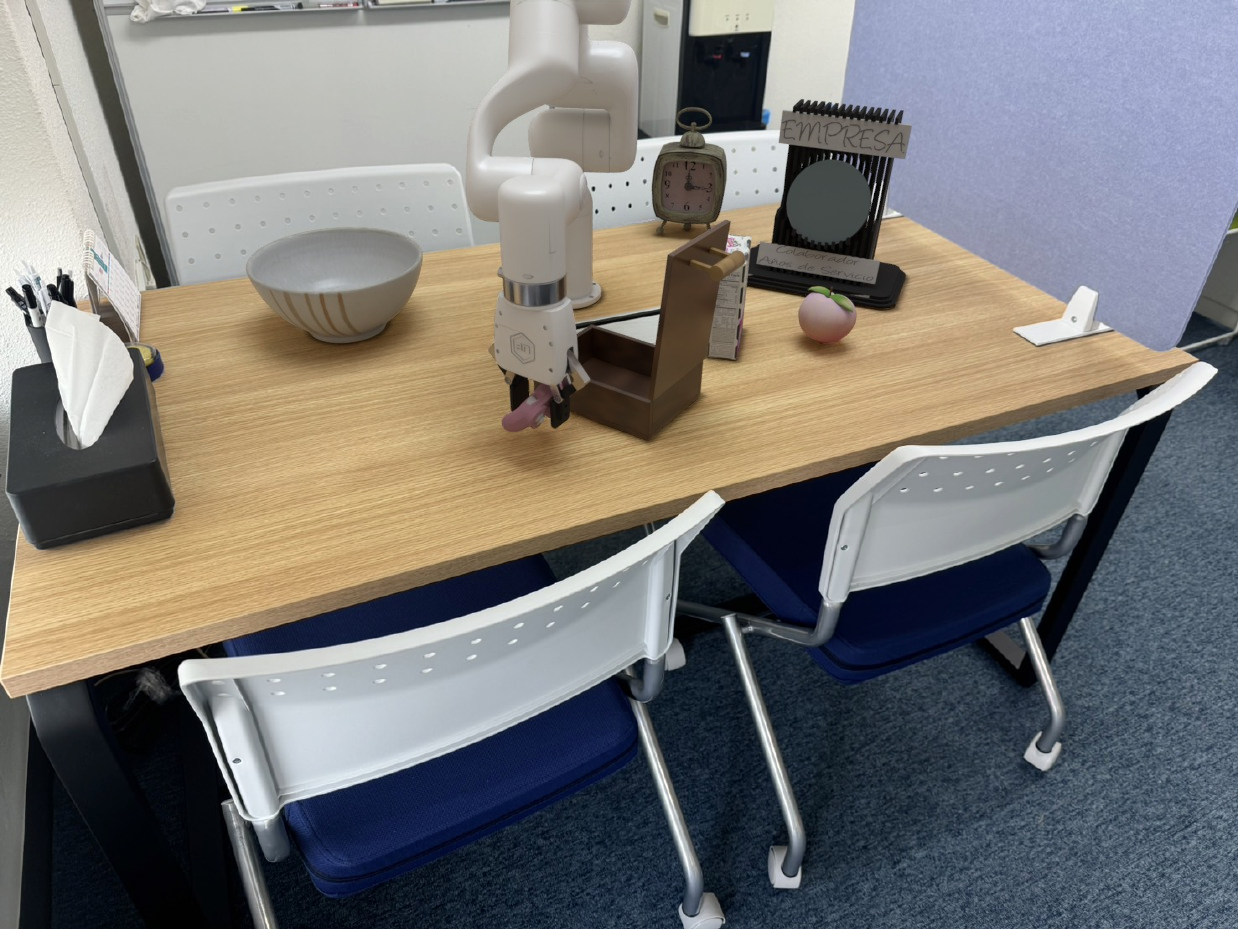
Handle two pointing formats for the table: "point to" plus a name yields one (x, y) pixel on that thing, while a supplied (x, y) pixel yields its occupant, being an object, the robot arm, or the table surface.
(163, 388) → the table surface
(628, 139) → the robot arm
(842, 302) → the decorative fruit
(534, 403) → the video game controller
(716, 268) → the chest lid
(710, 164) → the tabletop clock
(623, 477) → the table surface
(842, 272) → the award
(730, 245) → the candy bar box
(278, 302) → the decorative bowl
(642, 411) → the chest
